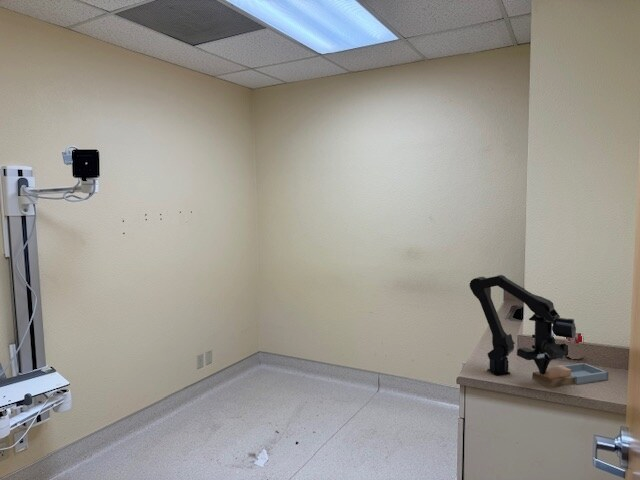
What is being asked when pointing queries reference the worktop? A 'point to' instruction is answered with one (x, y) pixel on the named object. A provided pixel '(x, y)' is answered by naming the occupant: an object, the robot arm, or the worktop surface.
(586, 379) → the box
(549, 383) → the bench board
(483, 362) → the worktop surface
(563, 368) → the tile
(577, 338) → the soda can
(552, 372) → the tile
